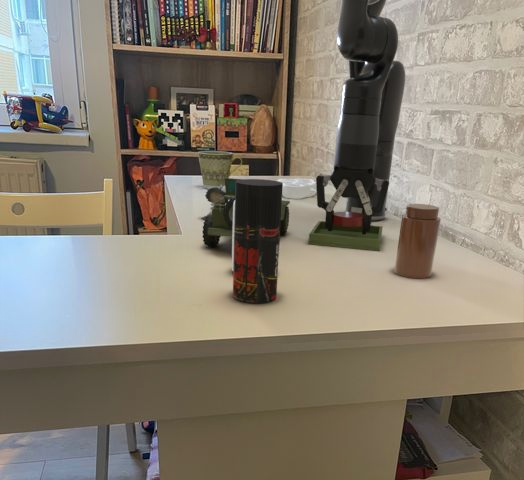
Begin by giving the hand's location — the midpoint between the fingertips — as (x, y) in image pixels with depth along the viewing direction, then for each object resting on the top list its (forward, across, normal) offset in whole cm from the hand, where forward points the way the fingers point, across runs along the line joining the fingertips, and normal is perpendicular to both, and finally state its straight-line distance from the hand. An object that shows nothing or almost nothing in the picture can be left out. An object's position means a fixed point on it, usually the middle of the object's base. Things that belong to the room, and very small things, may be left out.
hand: (347, 231), depth 109 cm
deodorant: (+2, -9, -40) cm, 41 cm away
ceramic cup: (+2, -42, +53) cm, 68 cm away
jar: (+2, +12, -20) cm, 23 cm away
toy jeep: (+2, -18, -9) cm, 20 cm away
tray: (+2, 0, 0) cm, 2 cm away
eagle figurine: (+2, -28, +9) cm, 30 cm away
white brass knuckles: (+2, -20, +54) cm, 58 cm away
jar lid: (-3, 0, 0) cm, 3 cm away
